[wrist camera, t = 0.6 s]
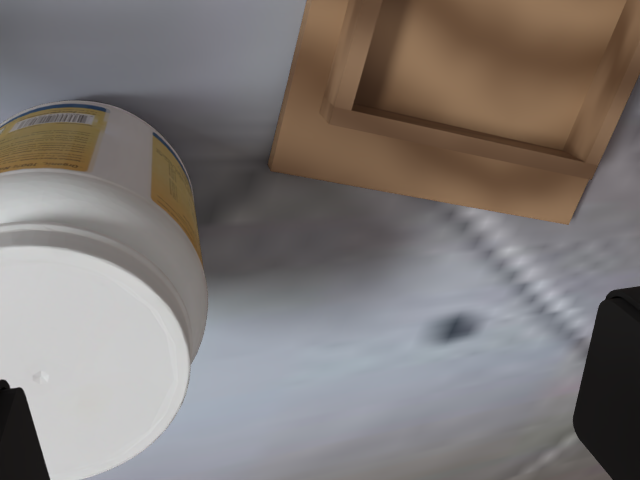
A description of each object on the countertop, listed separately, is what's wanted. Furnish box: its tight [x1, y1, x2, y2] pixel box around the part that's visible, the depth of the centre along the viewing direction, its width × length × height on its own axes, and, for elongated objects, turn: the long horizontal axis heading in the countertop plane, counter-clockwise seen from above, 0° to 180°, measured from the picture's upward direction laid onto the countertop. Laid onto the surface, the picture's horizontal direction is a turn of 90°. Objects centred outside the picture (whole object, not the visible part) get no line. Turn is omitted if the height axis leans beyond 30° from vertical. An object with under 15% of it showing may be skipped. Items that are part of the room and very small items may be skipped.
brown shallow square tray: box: [268, 0, 640, 225], centre depth 35 cm, size 22×22×4 cm
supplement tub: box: [0, 101, 208, 480], centre depth 29 cm, size 12×12×17 cm
